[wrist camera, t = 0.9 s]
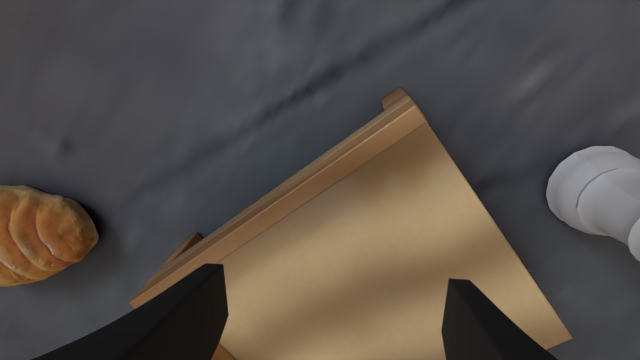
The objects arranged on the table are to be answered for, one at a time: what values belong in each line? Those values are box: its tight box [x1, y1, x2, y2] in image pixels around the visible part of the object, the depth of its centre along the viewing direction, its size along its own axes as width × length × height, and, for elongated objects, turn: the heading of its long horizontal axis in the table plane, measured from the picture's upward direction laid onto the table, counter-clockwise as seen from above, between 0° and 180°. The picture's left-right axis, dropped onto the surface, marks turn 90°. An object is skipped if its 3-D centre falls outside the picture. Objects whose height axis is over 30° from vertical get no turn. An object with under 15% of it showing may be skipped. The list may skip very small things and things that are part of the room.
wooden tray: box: [130, 87, 572, 360], centre depth 20 cm, size 14×16×6 cm
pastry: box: [0, 185, 99, 287], centre depth 22 cm, size 9×7×4 cm
